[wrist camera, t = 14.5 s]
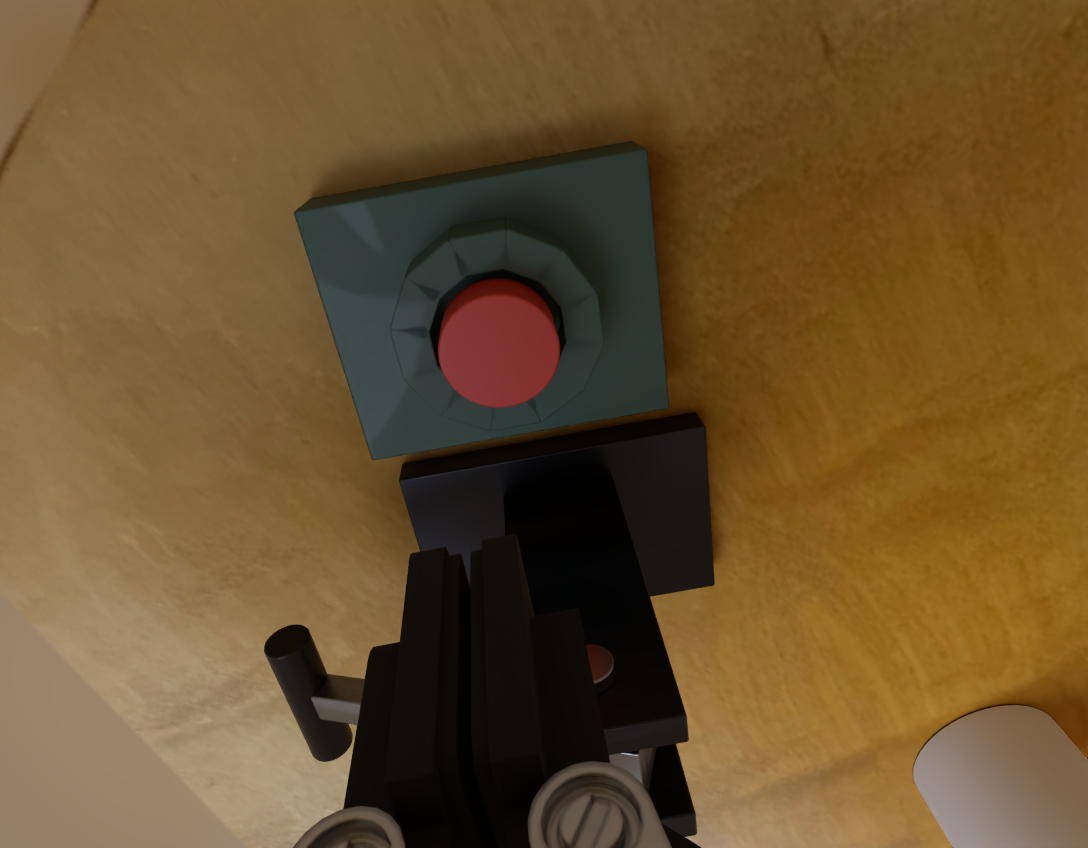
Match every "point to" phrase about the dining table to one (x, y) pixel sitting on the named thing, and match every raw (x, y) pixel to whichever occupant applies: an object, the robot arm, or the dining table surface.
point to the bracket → (594, 558)
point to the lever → (354, 701)
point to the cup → (1006, 781)
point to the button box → (484, 253)
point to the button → (498, 343)
